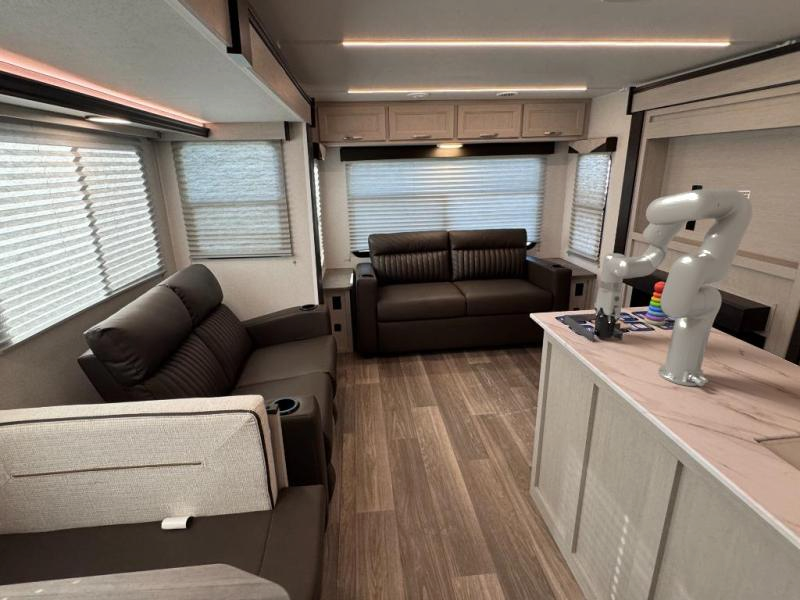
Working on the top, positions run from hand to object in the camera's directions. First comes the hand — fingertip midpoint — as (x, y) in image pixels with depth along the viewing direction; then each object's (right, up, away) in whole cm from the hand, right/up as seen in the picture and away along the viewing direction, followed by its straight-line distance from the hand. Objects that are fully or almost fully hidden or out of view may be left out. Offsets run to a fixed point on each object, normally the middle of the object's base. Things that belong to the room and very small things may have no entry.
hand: (604, 327), depth 162 cm
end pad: (+10, 0, +15) cm, 18 cm away
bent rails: (+2, -2, +9) cm, 10 cm away
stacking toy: (+30, +1, +16) cm, 35 cm away
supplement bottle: (0, -3, +1) cm, 4 cm away
